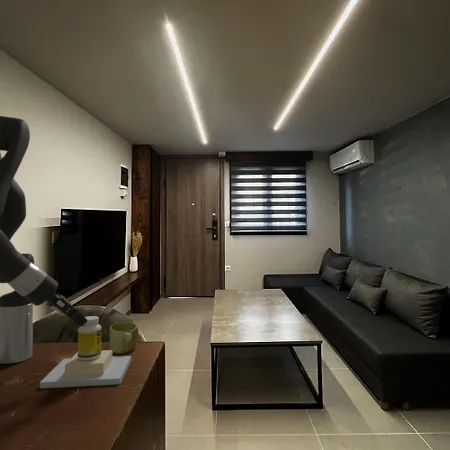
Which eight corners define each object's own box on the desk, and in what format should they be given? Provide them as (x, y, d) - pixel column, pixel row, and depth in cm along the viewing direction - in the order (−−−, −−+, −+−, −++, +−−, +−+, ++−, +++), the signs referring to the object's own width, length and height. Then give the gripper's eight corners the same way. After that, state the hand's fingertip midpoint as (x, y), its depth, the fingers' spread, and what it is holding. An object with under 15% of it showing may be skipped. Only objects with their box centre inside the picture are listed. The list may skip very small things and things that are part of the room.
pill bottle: (101, 359, 90) (101, 319, 91) (76, 362, 88) (77, 321, 88) (101, 352, 96) (101, 314, 96) (78, 354, 94) (78, 316, 94)
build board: (39, 388, 83) (40, 370, 83) (64, 363, 99) (64, 348, 99) (120, 384, 85) (120, 366, 85) (131, 360, 101) (131, 345, 101)
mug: (103, 340, 114) (112, 314, 114) (132, 346, 118) (141, 321, 117) (101, 360, 103) (111, 331, 102) (132, 365, 106) (143, 337, 106)
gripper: (52, 275, 80) (98, 314, 87) (38, 269, 91) (81, 304, 98) (27, 299, 76) (77, 338, 84) (16, 291, 87) (62, 326, 94)
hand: (79, 320), depth 91 cm, fingers open, 8 cm apart
